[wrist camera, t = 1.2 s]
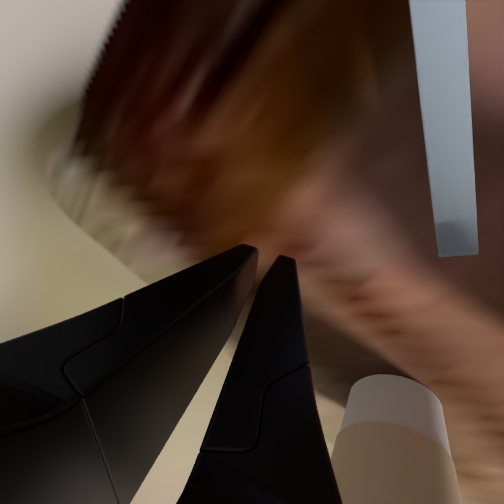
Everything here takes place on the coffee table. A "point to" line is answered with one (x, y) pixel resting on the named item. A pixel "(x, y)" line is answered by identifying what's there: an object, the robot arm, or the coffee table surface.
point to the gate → (446, 120)
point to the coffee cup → (394, 445)
